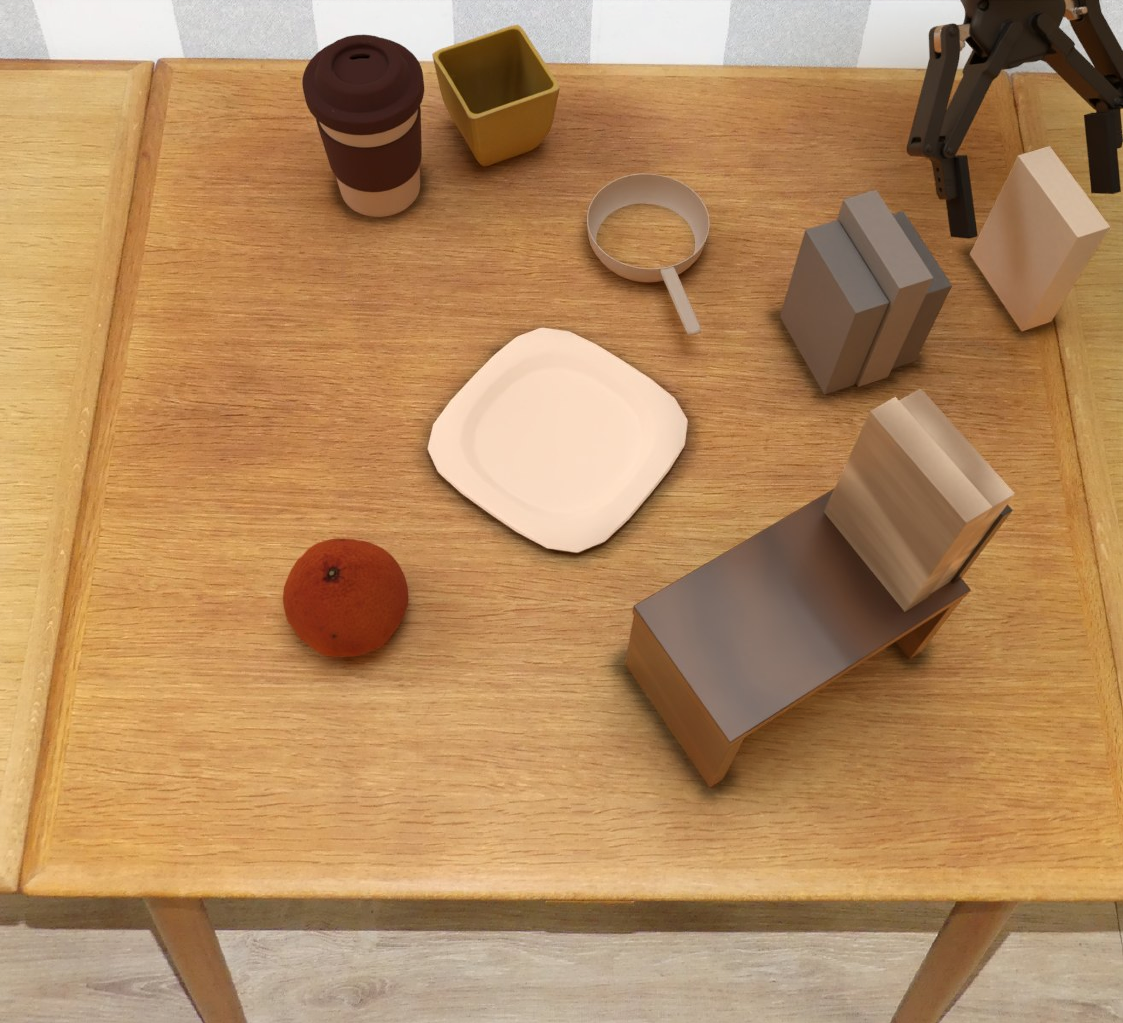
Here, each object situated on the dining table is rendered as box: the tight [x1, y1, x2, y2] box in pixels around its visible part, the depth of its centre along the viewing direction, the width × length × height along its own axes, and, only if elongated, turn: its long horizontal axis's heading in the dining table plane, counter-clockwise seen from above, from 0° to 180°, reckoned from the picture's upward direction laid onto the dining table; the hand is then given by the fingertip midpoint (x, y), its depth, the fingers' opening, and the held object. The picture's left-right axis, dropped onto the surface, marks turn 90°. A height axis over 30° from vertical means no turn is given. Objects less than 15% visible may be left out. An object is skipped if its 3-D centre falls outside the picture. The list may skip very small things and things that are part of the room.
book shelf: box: [624, 388, 1016, 788], centre depth 81 cm, size 20×11×25 cm, turn 122°
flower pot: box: [431, 24, 561, 167], centre depth 111 cm, size 9×9×9 cm
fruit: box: [282, 537, 409, 658], centre depth 90 cm, size 9×9×8 cm
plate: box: [426, 327, 689, 554], centre depth 100 cm, size 18×18×2 cm
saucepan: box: [586, 173, 711, 336], centre depth 107 cm, size 11×18×4 cm, turn 16°
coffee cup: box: [301, 34, 425, 218], centre depth 106 cm, size 10×10×15 cm
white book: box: [969, 145, 1111, 332], centre depth 103 cm, size 9×3×13 cm, turn 21°
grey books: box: [779, 189, 953, 395], centre depth 99 cm, size 9×9×14 cm
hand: (1035, 214), depth 101 cm, fingers open, 13 cm apart
